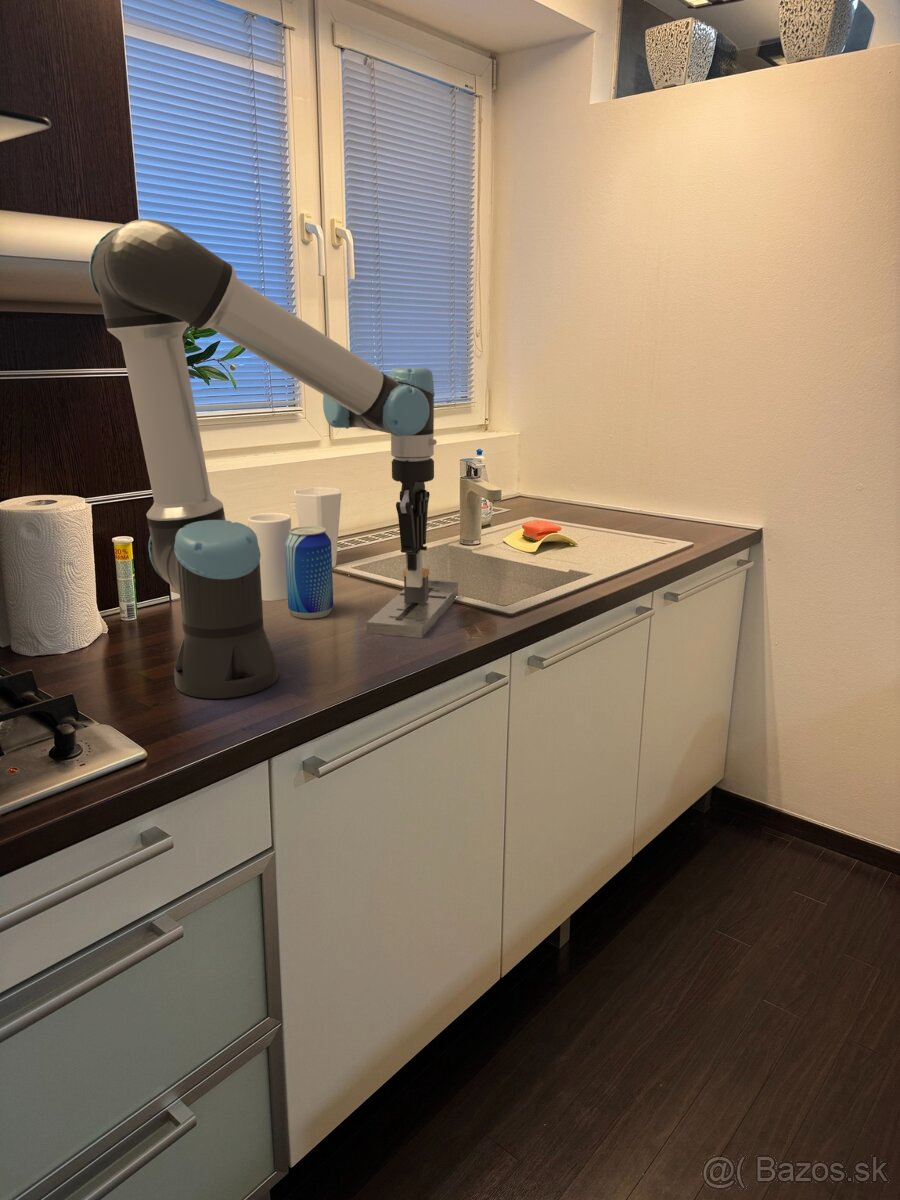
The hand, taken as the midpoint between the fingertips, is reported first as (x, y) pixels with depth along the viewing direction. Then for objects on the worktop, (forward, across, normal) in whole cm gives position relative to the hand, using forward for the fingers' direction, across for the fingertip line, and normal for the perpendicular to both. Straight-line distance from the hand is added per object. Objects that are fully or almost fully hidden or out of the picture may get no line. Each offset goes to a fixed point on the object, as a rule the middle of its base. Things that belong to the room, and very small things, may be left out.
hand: (414, 585), depth 160 cm
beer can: (+6, -4, +19) cm, 20 cm away
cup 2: (+6, +29, +32) cm, 43 cm away
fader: (+4, +2, 0) cm, 4 cm away
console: (+6, +1, 0) cm, 6 cm away
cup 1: (+6, +5, +31) cm, 32 cm away
